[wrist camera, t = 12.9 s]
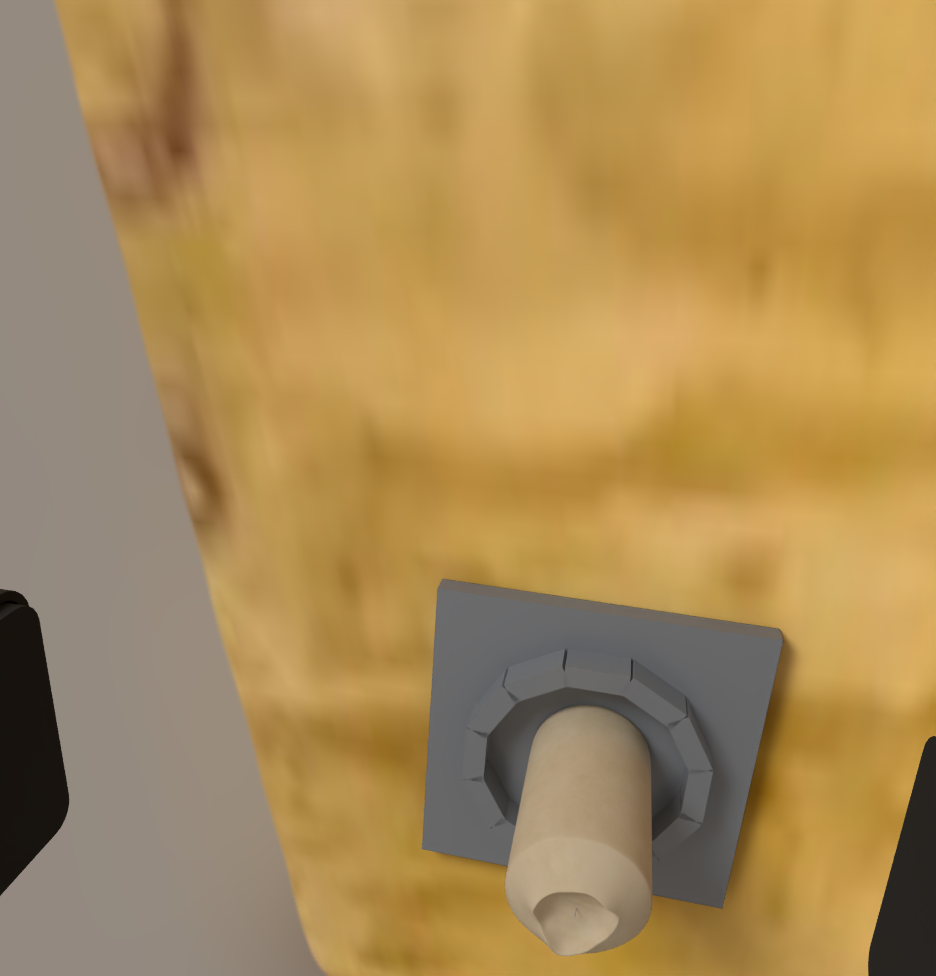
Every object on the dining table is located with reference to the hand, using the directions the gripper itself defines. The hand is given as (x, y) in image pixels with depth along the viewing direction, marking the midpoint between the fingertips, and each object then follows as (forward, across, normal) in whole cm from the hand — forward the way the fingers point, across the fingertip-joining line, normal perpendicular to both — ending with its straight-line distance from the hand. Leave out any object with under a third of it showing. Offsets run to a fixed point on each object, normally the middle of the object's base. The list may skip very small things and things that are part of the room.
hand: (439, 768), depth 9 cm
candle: (+27, -1, +20) cm, 33 cm away
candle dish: (+28, -1, +20) cm, 34 cm away
